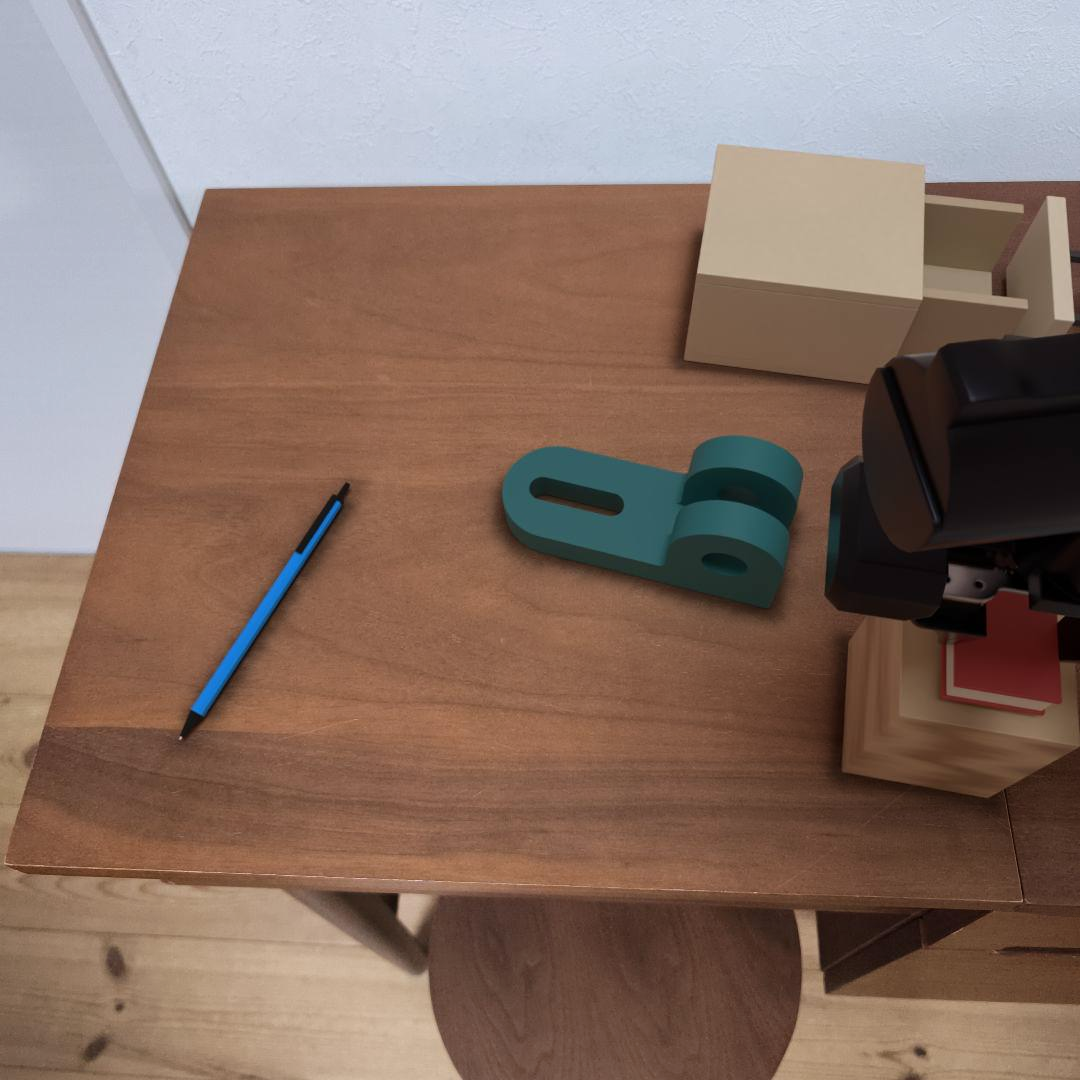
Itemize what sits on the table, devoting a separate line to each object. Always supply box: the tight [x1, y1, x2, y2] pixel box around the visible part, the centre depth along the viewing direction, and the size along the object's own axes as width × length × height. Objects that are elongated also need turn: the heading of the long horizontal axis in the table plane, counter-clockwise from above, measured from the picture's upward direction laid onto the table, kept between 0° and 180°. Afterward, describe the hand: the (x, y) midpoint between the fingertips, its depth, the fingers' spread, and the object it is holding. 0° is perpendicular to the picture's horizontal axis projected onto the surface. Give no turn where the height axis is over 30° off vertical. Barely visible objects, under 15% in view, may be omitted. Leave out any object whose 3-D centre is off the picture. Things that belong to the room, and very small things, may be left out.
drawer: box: [896, 193, 1080, 357], centre depth 63 cm, size 18×11×7 cm, turn 79°
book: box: [941, 592, 1062, 716], centre depth 44 cm, size 4×6×2 cm
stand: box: [841, 615, 1080, 799], centre depth 50 cm, size 8×8×11 cm
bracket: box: [501, 434, 804, 610], centre depth 58 cm, size 18×7×8 cm, turn 73°
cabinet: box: [683, 143, 926, 385], centre depth 65 cm, size 14×12×9 cm
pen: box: [178, 482, 351, 741], centre depth 59 cm, size 1×19×1 cm, turn 154°
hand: (994, 642), depth 44 cm, fingers closed on book, 4 cm apart
